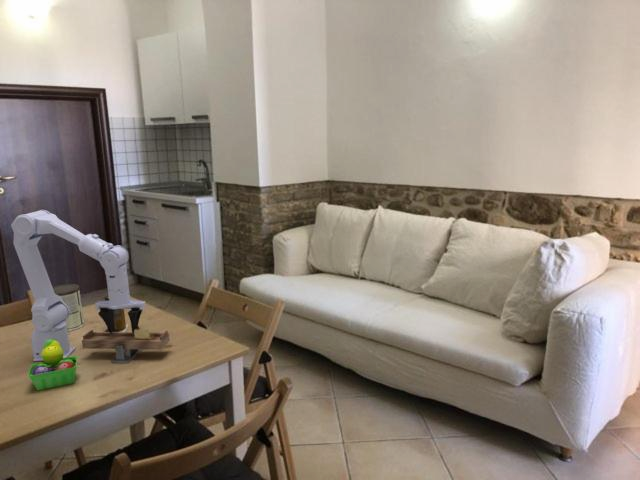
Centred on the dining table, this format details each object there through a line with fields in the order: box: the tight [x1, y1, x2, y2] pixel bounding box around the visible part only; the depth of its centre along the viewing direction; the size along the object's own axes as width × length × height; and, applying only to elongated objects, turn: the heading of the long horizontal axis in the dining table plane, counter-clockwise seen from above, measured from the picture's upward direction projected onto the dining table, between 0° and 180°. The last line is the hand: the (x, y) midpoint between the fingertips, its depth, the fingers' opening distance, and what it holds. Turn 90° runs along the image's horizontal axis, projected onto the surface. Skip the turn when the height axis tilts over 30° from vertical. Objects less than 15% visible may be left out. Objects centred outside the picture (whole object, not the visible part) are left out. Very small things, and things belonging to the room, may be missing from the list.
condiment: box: [103, 295, 130, 332], centre depth 170 cm, size 7×8×12 cm
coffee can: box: [52, 283, 85, 332], centre depth 174 cm, size 10×10×14 cm
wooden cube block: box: [134, 324, 156, 340], centre depth 149 cm, size 4×4×4 cm
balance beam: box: [81, 329, 171, 351], centre depth 150 cm, size 24×7×4 cm, turn 85°
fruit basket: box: [27, 339, 78, 391], centre depth 135 cm, size 11×9×11 cm
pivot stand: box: [111, 344, 143, 364], centre depth 150 cm, size 5×10×5 cm, turn 175°
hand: (123, 331), depth 149 cm, fingers open, 6 cm apart
